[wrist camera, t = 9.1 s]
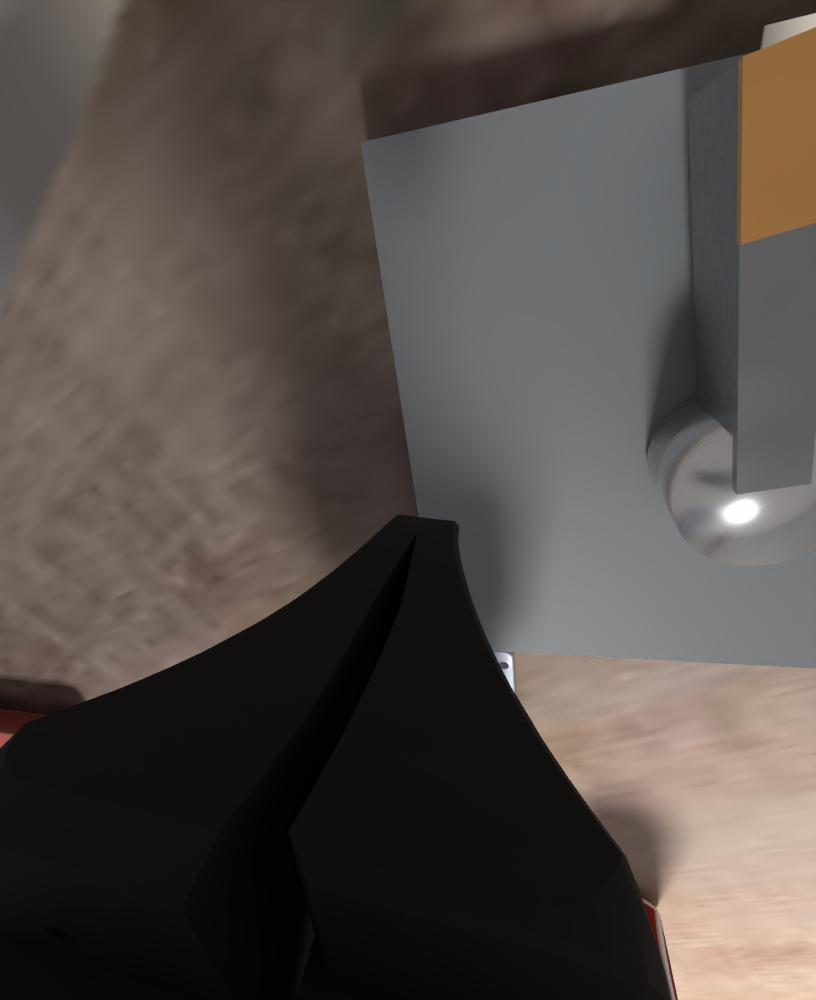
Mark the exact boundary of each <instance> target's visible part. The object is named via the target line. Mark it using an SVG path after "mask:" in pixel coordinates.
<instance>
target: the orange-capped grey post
mask: <svg viewBox="0 0 816 1000" xmlns="http://www.w3.org/2000/svg"><path fill="white" fill-rule="evenodd" d="M688 118H689V151H690V185H691V218H692V252H693V286H694V319H695V353H696V386H697V395H696V396H694V397H692V398H690V399H688V400H687V401H685V402H684V403H682V404H681V405H679V406H678V407H677V408H676V409H674V410H673V411H672V412H671V413H670V414H669V415H668V416H667V417H666V418H665V419H664V420H663V422H662V423H661V424H660V425H659V427H658V428H657V430H656V432H655V433H654V435H653V437H652V440H651V442H650V445H649V448H648V454H647V467H648V472H649V475H650V478H651V480H652V482H653V484H654V486H655V487H656V489H657V491H658V493H659V495H660V497H661V498H662V500H663V502H664V504H665V506H666V508H667V509H668V511H669V513H670V515H671V517H672V519H673V520H674V522H675V524H676V526H677V528H678V530H679V531H680V533H681V535H682V537H683V538H684V539H685V541H686V542H687V543H688V544H689V545H690V546H691V547H692V548H693V549H694V550H696V551H697V552H699V553H700V554H702V555H704V556H706V557H708V558H710V559H712V560H715V561H718V562H721V563H725V564H729V565H736V566H766V565H773V564H779V563H783V562H787V561H791V560H794V559H797V558H800V557H802V556H805V555H807V554H809V553H812V552H814V551H816V27H814V28H812V29H810V30H807V31H805V32H802V33H800V34H797V35H795V36H792V37H790V38H787V39H785V40H782V41H780V42H778V43H775V44H773V45H770V46H768V47H765V48H763V49H760V50H758V51H755V52H753V53H750V54H748V55H746V56H743V57H742V58H740V59H739V60H738V62H737V63H736V64H734V65H733V66H732V67H730V68H729V69H728V70H727V71H725V72H724V73H723V74H721V75H720V76H719V77H718V78H716V79H715V80H714V81H712V82H711V83H710V84H708V85H707V86H706V87H705V88H703V89H702V90H701V91H699V92H698V93H697V94H696V95H694V96H693V97H692V98H690V99H689V100H688Z"/></svg>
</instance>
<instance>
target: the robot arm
mask: <svg viewBox="0 0 816 1000" xmlns="http://www.w3.org/2000/svg"><path fill="white" fill-rule="evenodd" d="M458 539H459V525H458V524H457V523H456V522H455V521H450V520H441V519H432V518H423V517H414V516H405V515H397V516H395V517H394V518H393V519H392V520H391V521H390V522H388V523H387V524H386V525H385V526H384V527H383V528H382V529H381V530H380V531H379V532H378V533H377V534H375V535H374V536H373V537H372V538H371V539H370V540H369V541H368V542H367V543H366V544H364V545H363V546H362V547H361V548H360V549H359V550H358V551H356V552H355V553H354V554H353V555H352V556H351V557H349V558H348V559H347V560H346V561H345V562H344V563H342V564H341V565H340V566H339V567H338V568H336V569H335V570H334V571H333V572H331V573H330V574H329V575H327V576H326V577H325V578H323V579H322V580H321V581H319V582H318V583H317V584H315V585H314V586H313V587H312V588H310V589H309V590H308V591H306V592H305V593H303V594H302V595H301V596H299V597H298V598H296V599H295V600H293V601H292V602H290V603H289V604H287V605H286V606H284V607H282V608H281V609H279V610H278V611H276V612H274V613H273V614H271V615H270V616H268V617H266V618H265V619H263V620H261V621H260V622H258V623H256V624H255V625H253V626H251V627H249V628H247V629H245V630H243V631H241V632H240V633H238V634H236V635H234V636H232V637H230V638H228V639H226V640H224V641H223V642H221V643H219V644H217V645H215V646H213V647H211V648H209V649H208V650H206V651H204V652H202V653H199V654H197V655H195V656H193V657H191V658H189V659H187V660H185V661H182V662H180V663H178V664H176V665H174V666H172V667H169V668H167V669H165V670H162V671H160V672H158V673H156V674H153V675H151V676H149V677H146V678H144V679H142V680H139V681H137V682H135V683H132V684H130V685H127V686H125V687H122V688H120V689H117V690H115V691H112V692H109V693H107V694H104V695H101V696H99V697H96V698H93V699H91V700H88V701H85V702H83V703H80V704H77V705H74V706H72V707H69V708H66V709H64V710H61V711H58V712H56V713H53V714H50V715H48V716H45V717H42V718H39V719H36V720H33V721H30V722H27V723H25V724H24V725H23V726H22V727H21V728H20V729H19V730H18V731H17V732H16V733H15V734H14V735H13V736H12V737H11V738H10V739H9V740H8V741H7V742H6V743H5V744H4V745H3V746H2V747H1V748H0V1000H671V993H670V989H669V984H668V980H667V976H666V972H665V969H664V965H663V962H662V959H661V955H660V952H659V948H658V945H657V942H656V938H655V935H654V932H653V929H652V926H651V923H650V920H649V917H648V914H647V911H646V908H645V905H644V902H643V900H642V897H641V895H640V892H639V889H638V887H637V884H636V881H635V879H634V876H633V873H632V871H631V868H630V866H629V863H628V861H627V858H626V856H625V855H624V853H623V852H622V850H621V849H620V848H619V846H618V845H617V844H616V842H615V841H614V840H613V838H612V837H611V836H610V834H609V833H608V832H607V830H606V829H605V828H604V826H603V825H602V824H601V822H600V821H599V820H598V818H597V817H596V816H595V814H594V813H593V812H592V810H591V809H590V808H589V806H588V805H587V803H586V802H585V801H584V799H583V798H582V796H581V795H580V794H579V792H578V791H577V789H576V788H575V787H574V785H573V784H572V783H571V781H570V780H569V778H568V777H567V775H566V774H565V772H564V771H563V769H562V768H561V766H560V765H559V763H558V762H557V760H556V759H555V757H554V756H553V754H552V753H551V751H550V750H549V748H548V747H547V745H546V744H545V742H544V741H543V739H542V738H541V736H540V734H539V733H538V731H537V729H536V728H535V726H534V724H533V723H532V721H531V719H530V718H529V716H528V714H527V713H526V711H525V709H524V708H523V706H522V704H521V703H520V701H519V699H518V698H517V696H516V694H515V680H514V660H513V652H503V651H493V650H492V648H491V646H490V644H489V641H488V639H487V637H486V635H485V632H484V630H483V627H482V625H481V623H480V620H479V617H478V615H477V612H476V609H475V607H474V604H473V601H472V598H471V595H470V592H469V589H468V585H467V582H466V578H465V574H464V571H463V567H462V562H461V557H460V551H459V543H458ZM501 662H505V663H501Z"/></svg>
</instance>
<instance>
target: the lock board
mask: <svg viewBox="0 0 816 1000" xmlns="http://www.w3.org/2000/svg"><path fill="white" fill-rule="evenodd" d="M814 27H816V13H814V14H810V15H806V16H802V17H798V18H794V19H789V20H785V21H781V22H777V23H773V24H769V25H766V26H764V30H763V36H762V43H761V49H763V48H765V47H768V46H770V45H773V44H775V43H778V42H780V41H782V40H785V39H787V38H790V37H792V36H795V35H797V34H800V33H802V32H805V31H807V30H810V29H812V28H814ZM751 53H753V52H751ZM748 54H750V53H746V54H742V55H738V56H733V57H729V58H725V59H720V60H716V61H712V62H707V63H703V64H699V65H694V66H690V67H686V68H681V69H677V70H673V71H668V72H664V73H660V74H655V75H651V76H647V77H642V78H638V79H633V80H629V81H625V82H620V83H616V84H612V85H607V86H603V87H599V88H594V89H590V90H586V91H581V92H577V93H573V94H568V95H564V96H560V97H555V98H551V99H547V100H542V101H538V102H534V103H529V104H525V105H521V106H516V107H512V108H508V109H503V110H499V111H495V112H490V113H486V114H482V115H477V116H473V117H469V118H464V119H460V120H456V121H451V122H447V123H443V124H438V125H434V126H430V127H425V128H421V129H416V130H412V131H408V132H403V133H399V134H395V135H390V136H386V137H382V138H377V139H373V140H369V141H364V142H360V144H361V150H362V157H363V163H364V170H365V176H366V183H367V189H368V196H369V202H370V208H371V215H372V221H373V228H374V234H375V241H376V247H377V253H378V260H379V266H380V273H381V279H382V286H383V292H384V299H385V305H386V311H387V318H388V324H389V331H390V337H391V344H392V350H393V357H394V363H395V369H396V376H397V382H398V389H399V395H400V402H401V408H402V415H403V421H404V427H405V434H406V440H407V447H408V453H409V460H410V466H411V473H412V479H413V485H414V492H415V498H416V505H417V511H418V517H423V518H432V519H441V520H450V521H455V522H456V523H457V524H458V525H459V539H458V543H459V551H460V557H461V562H462V567H463V571H464V574H465V578H466V582H467V585H468V589H469V592H470V595H471V598H472V601H473V604H474V607H475V609H476V612H477V615H478V617H479V620H480V623H481V625H482V627H483V630H484V632H485V635H486V637H487V639H488V641H489V644H490V646H491V648H492V650H493V651H503V652H522V653H540V654H559V655H578V656H596V657H615V658H633V659H652V660H670V661H689V662H708V663H726V664H745V665H763V666H782V667H800V668H816V551H814V552H812V553H809V554H807V555H805V556H802V557H800V558H797V559H794V560H791V561H787V562H783V563H779V564H773V565H766V566H736V565H729V564H725V563H721V562H718V561H715V560H712V559H710V558H708V557H706V556H704V555H702V554H700V553H699V552H697V551H696V550H694V549H693V548H692V547H691V546H690V545H689V544H688V543H687V542H686V541H685V539H684V538H683V537H682V535H681V533H680V531H679V530H678V528H677V526H676V524H675V522H674V520H673V519H672V517H671V515H670V513H669V511H668V509H667V508H666V506H665V504H664V502H663V500H662V498H661V497H660V495H659V493H658V491H657V489H656V487H655V486H654V484H653V482H652V480H651V478H650V475H649V472H648V467H647V454H648V448H649V445H650V442H651V440H652V437H653V435H654V433H655V432H656V430H657V428H658V427H659V425H660V424H661V423H662V422H663V420H664V419H665V418H666V417H667V416H668V415H669V414H670V413H671V412H672V411H673V410H674V409H676V408H677V407H678V406H679V405H681V404H682V403H684V402H685V401H687V400H688V399H690V398H692V397H694V396H696V395H697V386H696V353H695V319H694V286H693V252H692V218H691V185H690V151H689V118H688V100H689V99H690V98H692V97H693V96H694V95H696V94H697V93H698V92H699V91H701V90H702V89H703V88H705V87H706V86H707V85H708V84H710V83H711V82H712V81H714V80H715V79H716V78H718V77H719V76H720V75H721V74H723V73H724V72H725V71H727V70H728V69H729V68H730V67H732V66H733V65H734V64H736V63H737V62H738V60H739V59H740V58H742V57H743V56H746V55H748Z"/></svg>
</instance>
